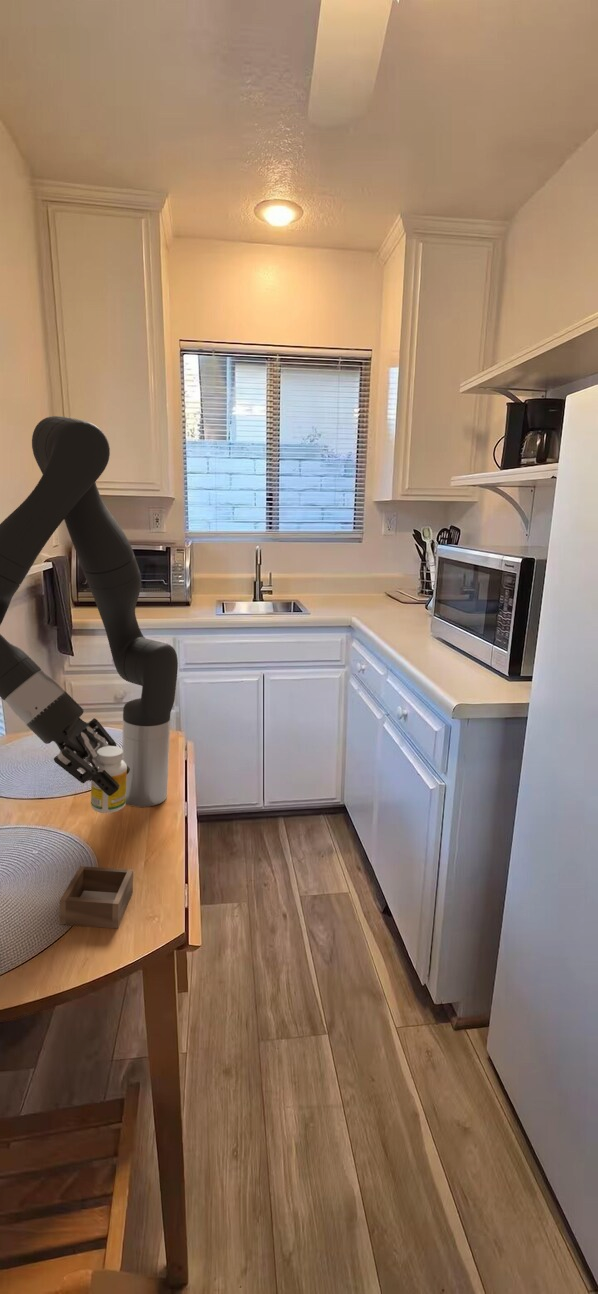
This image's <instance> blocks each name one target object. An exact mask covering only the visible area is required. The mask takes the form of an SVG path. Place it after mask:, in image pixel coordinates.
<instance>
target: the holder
mask: <svg viewBox="0 0 598 1294" xmlns="http://www.w3.org/2000/svg"><path fill="white" fill-rule="evenodd" d="M73 875H74V876H73V877H72V879H71V881H70V882H69V884H68V886H67V887H66V889H65V891H64V892H63V894H62V896H61V897H60V899H59V925H60V924H67V925H66V926H75V927H92V928H93V927H94V928H107V929H118V928H119V926H120V924H121V922H122V919H123V916H124V915H125V912H126V910H127V908H128V905H129V903H130V899H131V897H132V895H133V892H134V891H133V890H134V869H128V868H115V867H103V866H102V867H99V866H98V867H97V866H86V865H85V866H83V865H80V866H79V867H78V869H77V870H76V872H75V874H73Z"/></svg>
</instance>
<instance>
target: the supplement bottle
mask: <svg viewBox="0 0 598 1294" xmlns="http://www.w3.org/2000/svg"><path fill="white" fill-rule="evenodd" d="M122 759H123V750H122V747H119V746H117V745H116V746H106V747H102V748H100V749H98V750H97V761H98V762H99V764H100V765H101V767H102V769H103V770H105V771H106V772H107V773H108V774H109V775H110V776H111V777H112V778H113V779H114V780H115V781H116V782H117V783H118V784H119V786H120V787H119V789H118V790H117V791H116V792H115V793H114V794H113V795H111V796H108V795H107V794H106V793H105V792H104V791H103V790H102V789H101V788H100V787H99V786H98V785H97V784H96V783H95V782H94V781H90V782H91V784H90V785H91V786H90V787H91V790H90V797H91V798H90V805H91V808H92V810H94V811H95V812H97V813H100V814H112V813H116V812H119V811H121V810H122V809H124V807H125V806H126V779H127V765H126V763H125V762H124V761H123V760H122ZM91 766H92V765H91ZM92 767H93V766H92ZM93 768H94V767H93Z"/></svg>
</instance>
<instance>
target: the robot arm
mask: <svg viewBox="0 0 598 1294" xmlns="http://www.w3.org/2000/svg"><path fill="white" fill-rule="evenodd" d="M31 449H32V454H33V456H34V459H35V462H36V463H37V465H38V467H39V470H40V472H41V474H42V475H41V477H40V479H39V481H38V482H37V484H36V485H35V486H34V489H33V490H32V491H31V493H30V494H29V495H28V496H27V497H26V498H25V499H24V501H22V503H20V505H19V506H18V507H16V508H15V510H13V511H12V512H11V513H10V514H9V515H8V516H7V517H6V518H4V519H3V520H2V522H1V523H0V626H1V625H2V623H3V621H4V618H5V616H6V614H7V611H8V609H9V607H10V604H11V601H12V599H13V598H14V595H15V594H16V592H18V589H19V588H20V587H21V585H22V584H23V582H24V580H25V579H26V577H27V575H28V573H29V572H30V570H31V568H32V566H33V565H34V563H35V561H36V560H37V558H38V556H39V555H40V553H41V552H42V550H43V549H44V547H45V546H46V544H47V542H48V541H49V540H50V539H51V537H52V535H53V534H54V533H55V532H56V530H57V529H58V527H59V526H60V525H62V523H63V521H64V523H65V526H66V529H67V532H68V534H69V537H70V540H71V542H72V545H73V548H74V550H75V553H76V555H77V558H78V562H79V564H80V565H79V566H80V567H81V571H82V573H83V576H84V578H85V581H86V583H87V585H88V587H89V590H90V593H91V594H92V596H93V600H94V602H95V604H96V607H97V611H98V612H99V615H100V619H101V622H102V624H103V627H104V630H105V634H106V637H107V642H108V645H109V648H110V653H111V656H112V657H111V658H112V661H113V663H114V667H115V669H116V672H117V673H118V675H119V676H120V678H122V679H123V680H124V681H126V682H127V683H130V684H134V685H137V686H141V696H140V698H135V699H131V700H130V701H127V702H126V703H125V704H124V706H123V710H122V741H121V742H122V747H121V748H122V750H123V759H122V760H123V761H124V762H125V763H126V765H127V779H126V803H125V805H128V806H131V807H138V808H146V807H147V808H148V807H149V808H150V807H154V806H157V805H159V804H161V803H163V802H164V801H165V800H166V799H167V797H168V780H169V760H170V759H169V755H170V754H169V753H170V739H171V738H170V730H171V713H172V709H173V707H174V705H175V699H176V689H177V680H178V678H177V677H178V671H179V666H178V664H179V662H178V655H177V652H176V650H175V648H174V647H173V646H172V645H171V644H168V643H165V642H162V641H157V640H153V639H149V638H146V637H145V636H144V635H143V633H142V631H141V628H140V626H139V624H138V620H137V616H136V606H137V602H138V600H139V596H140V592H141V590H142V589H141V588H142V575H141V571H140V567H139V564H138V562H137V559H136V556H135V553H134V549H133V547H132V545H131V542H130V540H129V538H128V537H127V536H126V534H125V532H124V531H123V529H122V527H121V526H120V524H119V522H117V520H116V519H115V517H114V516H113V514H112V512H111V511H110V510H109V509H108V507H107V506H106V503H105V502H104V500H103V498H102V496H101V494H100V492H99V489H98V488H99V487H98V486H97V483H96V482H97V480H99V478H100V477H101V476H102V475H103V473H104V471H105V470H106V468H107V466H108V464H109V460H110V456H111V452H110V451H111V449H110V443H109V440H108V439H107V436H106V434H105V433H104V432H103V430H101V428H100V427H98V426H97V425H95V424H94V423H92V422H89V421H87V420H82V419H77V418H72V417H67V416H56V415H55V416H53V415H52V416H48V417H45V418H43V419H41V420H40V421H39V422H38V423H37V424H36V426H35V428H34V430H33V432H32V435H31ZM0 699H2V701H4V702H5V703H6V704H7V706H8V707H9V708H10V710H11V711H12V713H14V715H15V716H17V717H18V719H19V720H20V721H22V723H24V725H26V726H27V728H28V729H30V731H32V732H33V733H34V734H35V736H36V737H38V738H39V739H40V740H41V742H42V743H44V744H45V745H46V744H47V745H48V744H51V743H53V742H54V743H55V744H56V746H57V747H58V749H59V753H57V754H56V756H54V757H53V761H54V762H55V763H56V765H58V766H59V767H60V768H62V769H63V770H64V771H66V773H68V774H69V775H71V776H72V777H73V778H74V779H76V780H77V781H78V782H80V783H81V784H85V783H86V782H88V781H89V782H91V781H94V782H95V783H96V784H97V785H98V786H99V787H100V788H101V789H102V790H103V791H104V792H105V793H106V794H107V795H108V796H111V795H113V794H114V793H115V792H116V791H117V790H118V789H119V787H120V786H119V784H118V783H117V782H116V781H115V780H114V779H113V778H112V777H111V776H110V775H109V774H108V773H107V772H106V771H105V770H103V769H102V767H101V765H100V764H99V762H98V761H97V750H98V749H100V748H102V747H106V746H116V747H117V742H116V741H115V740H114V739H113V737H112V736H111V735H110V733H108V731H107V730H106V729H105V728H104V727H103V725H102V724H101V723H100V722H99V720H98V719H97V718H92V719H91V720H90V721H89V722H86V721H84V720H83V719H81V716H82V715H83V714H84V709H83V708H82V706H81V705H79V703H77V702H76V700H75V699H74V698H73V697H71V695H70V694H69V693H68V692H67V691H66V690H65V689H64V688H63V687H62V686H61V685H60V684H59V683H58V682H57V681H56V680H55V679H54V678H53V677H51V676H50V675H49V674H48V673H46V672H45V671H44V670H43V669H42V668H41V667H40V666H39V665H38V664H37V663H36V662H35V661H34V660H33V659H32V658H31V657H30V656H29V655H28V654H27V653H26V652H25V651H24V650H22V649H21V648H20V647H18V646H17V645H14V644H12V643H10V642H9V641H8V640H7V639H6V638H5V637H4V636H3V635H2V634H1V633H0ZM92 766H93V767H94V768H93V767H92ZM79 770H80V771H81V772H82V773H81V772H80V771H79Z"/></svg>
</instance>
